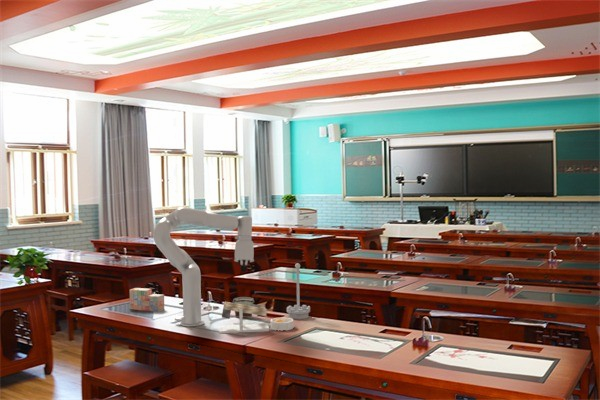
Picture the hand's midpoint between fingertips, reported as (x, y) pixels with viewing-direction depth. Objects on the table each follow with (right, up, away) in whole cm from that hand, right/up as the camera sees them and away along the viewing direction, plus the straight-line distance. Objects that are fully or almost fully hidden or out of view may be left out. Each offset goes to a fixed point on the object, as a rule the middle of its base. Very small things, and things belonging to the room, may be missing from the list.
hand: (243, 272), depth 319 cm
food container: (-1, -27, +14) cm, 30 cm away
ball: (+20, -24, -16) cm, 35 cm away
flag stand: (+30, -26, +9) cm, 41 cm away
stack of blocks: (-62, -27, +35) cm, 76 cm away
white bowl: (+21, -27, -16) cm, 38 cm away
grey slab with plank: (+1, -22, -12) cm, 25 cm away
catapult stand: (+2, -27, -18) cm, 32 cm away
